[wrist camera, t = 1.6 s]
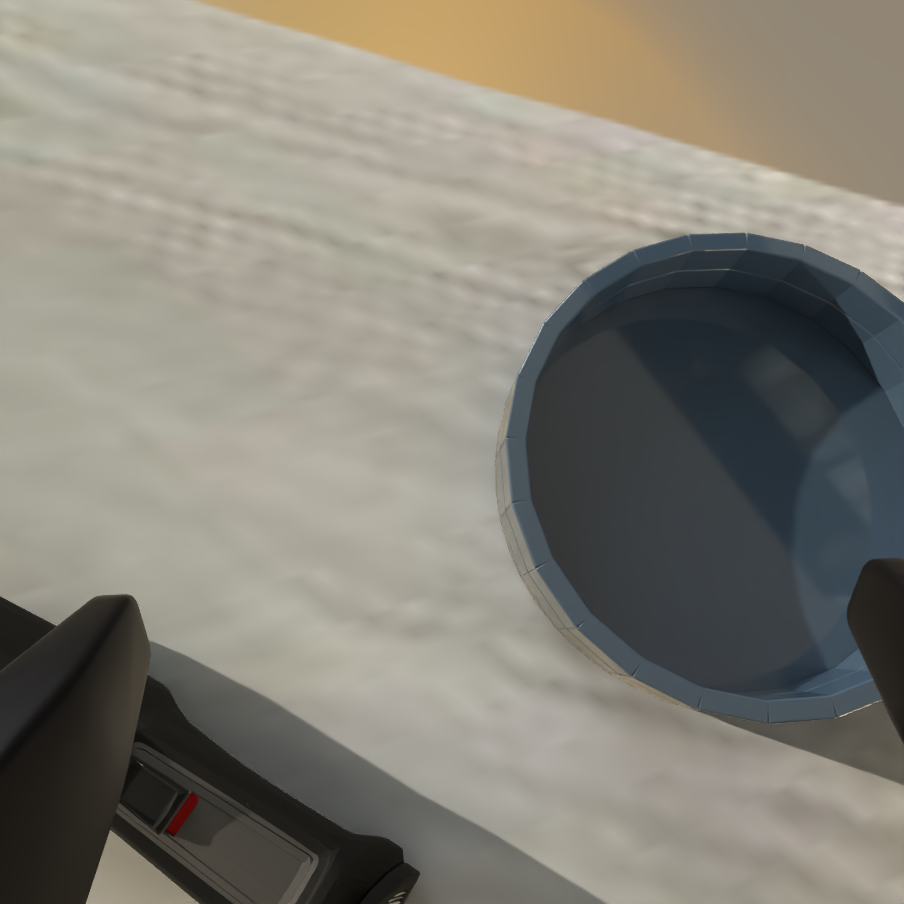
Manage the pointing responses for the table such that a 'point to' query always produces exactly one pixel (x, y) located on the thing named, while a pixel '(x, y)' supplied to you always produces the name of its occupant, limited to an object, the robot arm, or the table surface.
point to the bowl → (711, 471)
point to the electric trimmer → (227, 814)
